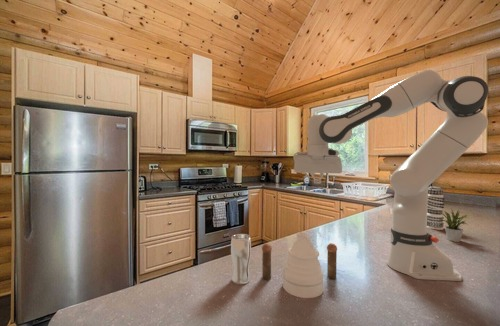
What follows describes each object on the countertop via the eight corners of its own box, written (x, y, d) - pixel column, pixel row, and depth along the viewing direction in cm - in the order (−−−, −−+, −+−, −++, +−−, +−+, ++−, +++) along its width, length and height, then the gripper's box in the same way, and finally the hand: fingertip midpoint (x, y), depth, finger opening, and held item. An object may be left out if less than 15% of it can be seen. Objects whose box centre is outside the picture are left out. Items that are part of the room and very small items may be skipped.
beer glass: (248, 286, 77) (248, 240, 77) (228, 284, 79) (228, 239, 79) (252, 276, 84) (252, 234, 84) (233, 274, 86) (233, 233, 85)
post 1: (272, 276, 84) (272, 242, 84) (270, 280, 81) (270, 246, 81) (263, 274, 85) (263, 241, 85) (260, 279, 82) (260, 245, 82)
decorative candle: (425, 228, 144) (426, 187, 143) (424, 224, 151) (425, 185, 151) (444, 230, 138) (445, 188, 138) (443, 227, 146) (444, 186, 145)
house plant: (476, 248, 111) (476, 213, 111) (438, 242, 119) (438, 209, 119) (471, 240, 122) (472, 208, 122) (437, 234, 131) (438, 205, 131)
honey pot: (316, 303, 69) (316, 241, 68) (276, 289, 75) (276, 233, 75) (327, 283, 79) (328, 230, 79) (291, 273, 86) (292, 224, 86)
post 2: (336, 275, 85) (336, 242, 84) (337, 280, 81) (337, 245, 81) (326, 274, 85) (326, 241, 85) (326, 279, 82) (327, 244, 82)
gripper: (292, 151, 103) (292, 183, 104) (342, 151, 98) (342, 184, 98) (294, 152, 110) (294, 182, 110) (341, 151, 104) (341, 183, 104)
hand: (317, 183), depth 104 cm, fingers closed
